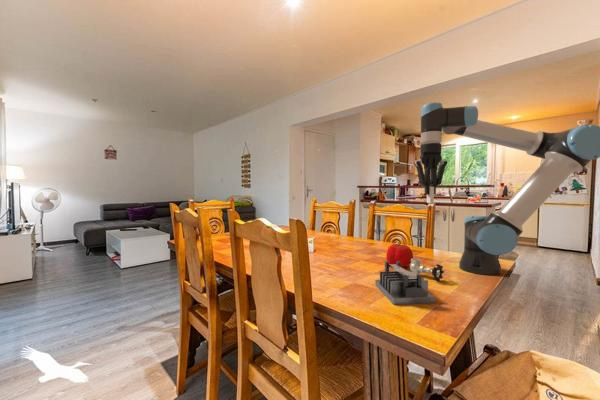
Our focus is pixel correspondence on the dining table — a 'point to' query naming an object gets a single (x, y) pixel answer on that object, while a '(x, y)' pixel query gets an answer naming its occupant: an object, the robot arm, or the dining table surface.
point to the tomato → (399, 255)
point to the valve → (426, 269)
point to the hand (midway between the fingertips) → (430, 202)
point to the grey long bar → (404, 271)
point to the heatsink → (403, 287)
